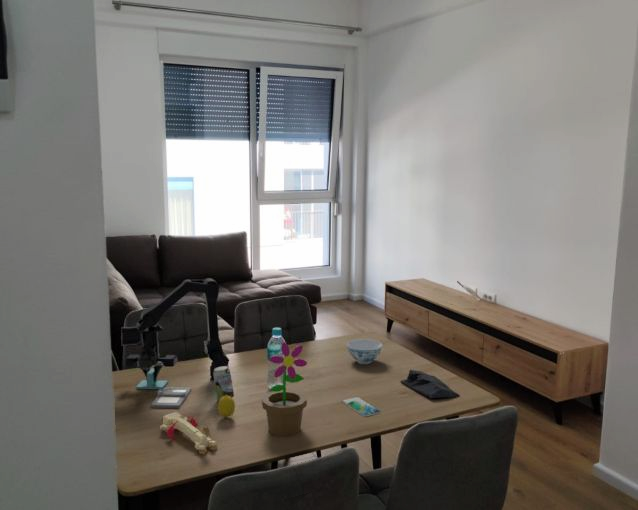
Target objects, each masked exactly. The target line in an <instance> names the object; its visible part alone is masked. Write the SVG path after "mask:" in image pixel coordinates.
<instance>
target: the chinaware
mask: <svg viewBox="0 0 638 510" xmlns="http://www.w3.org/2000/svg"><path fill="white" fill-rule="evenodd" d="M346 347H347V351H348V353H349V355H350V356H351V357H352V358H353V359H354V360H356V363H357V362H358V364H360V365H370V364H372V363H373V361H374V360H376V358H378V357H379V355H380V354H381V351H382V348H383V343H381V342H380V341H378V340H375V339H369V338H358V339H353V340H350V341H348V342H347V343H346ZM371 362H372V363H371ZM369 363H370V364H369Z"/></svg>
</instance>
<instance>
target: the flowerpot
mask: <svg viewBox="0 0 638 510" xmlns="http://www.w3.org/2000/svg"><path fill="white" fill-rule="evenodd" d="M303 348H304V346H303V345H302V344H300V345H297V346H295V347H294V348H293V349H292V351H291V350H290V347H289V345H288V344H287V343H286V342H282V343H281V347H280V350H281V353H282V355H283V356H284V358H283V357H282V356H281V355H276V354H275V355H273V356H270V357H269V361H270V362H271V363H273V364H277V365H279V366H278V367H277V368H276V369H275V370H274V375H273V377H275V379H277V378H278V377H281V376H282V384H276V385H273V386H272V387H271V388H270V389H269V392H267V393H265V394H264V395H263V396H262V397H261V405H262V409H263V410H265V412H266V417H267V418H266V419H267V423H268V424H267V427H268V431H269V433H270V434H272V435H274V436H279V437H287V436H288V437H289V436H293V435H296V434H298V433H299V431H301V428H302V420H303V411H304V409H305V408H306V407H307V406H308V405H307V404H308V402H307V400H308V399H307V396H306V394H304V393H303V392H301V391H299V390H291V389H286V388H287V386H286V385H287V383H286V382H288V383H291V384H292V383H298V382H301V381H303V380H304V379H305V378H304V377H303V376H302V375H300V374H299V373H297V372H296V369H295V367H293V366H292V365H294V366H296V367H305V366H307V364H308V362H307V361H306V360H304V359H303V358H298V357H299V355H301V353H302V351H303ZM290 351H291V352H290ZM290 353H291V354H290ZM280 364H281V365H280Z"/></svg>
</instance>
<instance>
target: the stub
mask: <svg viewBox="0 0 638 510" xmlns="http://www.w3.org/2000/svg"><path fill="white" fill-rule="evenodd" d="M167 384H169V380H158V379H157V381H156V382H154V368H152V367H151V368H150V371H149V372H148V373H147V379H142V380H140V382H139V383H138V384H137V386H136V388H135V389H137V390H138V389H139V390H163V389H164V388H165V387H166V386H167Z"/></svg>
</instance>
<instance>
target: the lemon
mask: <svg viewBox="0 0 638 510" xmlns="http://www.w3.org/2000/svg"><path fill="white" fill-rule="evenodd" d="M235 406H236V404H235V401H234V399H233V397H230V396H227V395H225V396H223V397H222V398H221V399H220V400H218V405H217V411H218V413H219V415H220V416H222V417H224V418H225V419H228V418H229V417H231V416H232V415H233V414H234V412H235V409H236V407H235Z"/></svg>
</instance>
